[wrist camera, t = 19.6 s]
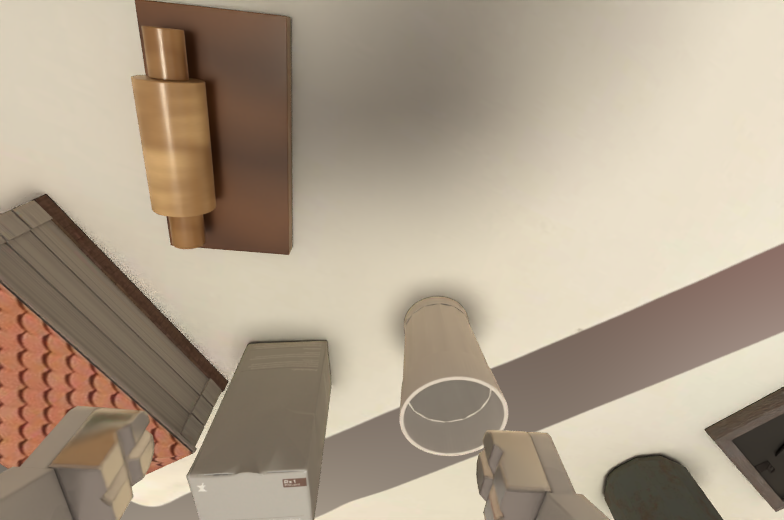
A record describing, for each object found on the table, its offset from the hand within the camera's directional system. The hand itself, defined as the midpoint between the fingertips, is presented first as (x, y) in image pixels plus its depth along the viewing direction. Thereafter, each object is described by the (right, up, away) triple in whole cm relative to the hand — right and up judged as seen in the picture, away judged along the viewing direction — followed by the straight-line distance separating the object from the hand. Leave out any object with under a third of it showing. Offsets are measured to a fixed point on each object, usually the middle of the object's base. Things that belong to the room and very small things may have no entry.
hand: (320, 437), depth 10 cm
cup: (+6, -2, +31) cm, 32 cm away
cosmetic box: (-8, -6, +33) cm, 35 cm away
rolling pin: (-12, +13, +21) cm, 28 cm away
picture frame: (+49, -17, +40) cm, 65 cm away
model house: (-28, -3, +31) cm, 42 cm away
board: (-11, +14, +23) cm, 29 cm away
